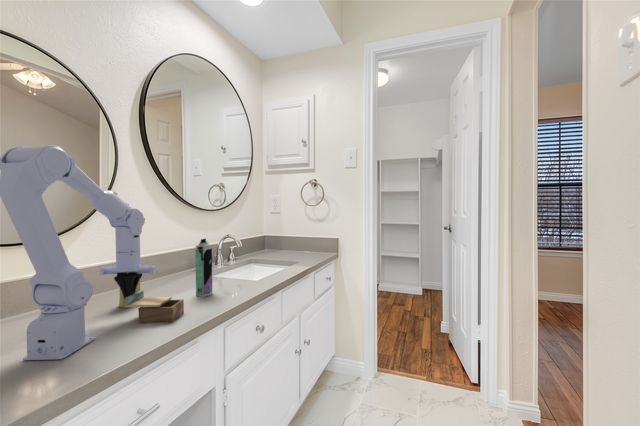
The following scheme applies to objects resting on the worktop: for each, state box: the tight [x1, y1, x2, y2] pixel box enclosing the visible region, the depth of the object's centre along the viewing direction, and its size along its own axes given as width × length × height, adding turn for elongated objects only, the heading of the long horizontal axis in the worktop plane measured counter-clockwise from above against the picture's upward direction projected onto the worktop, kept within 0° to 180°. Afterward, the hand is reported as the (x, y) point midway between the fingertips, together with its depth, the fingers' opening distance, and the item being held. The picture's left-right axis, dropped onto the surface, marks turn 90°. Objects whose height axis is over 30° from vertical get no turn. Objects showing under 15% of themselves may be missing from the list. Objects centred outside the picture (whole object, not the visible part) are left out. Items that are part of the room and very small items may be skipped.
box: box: [137, 299, 185, 324], centre depth 82 cm, size 7×9×4 cm
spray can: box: [194, 238, 213, 298], centre depth 104 cm, size 6×6×20 cm
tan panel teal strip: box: [124, 290, 173, 309], centre depth 82 cm, size 7×9×3 cm
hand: (129, 299), depth 82 cm, fingers closed
